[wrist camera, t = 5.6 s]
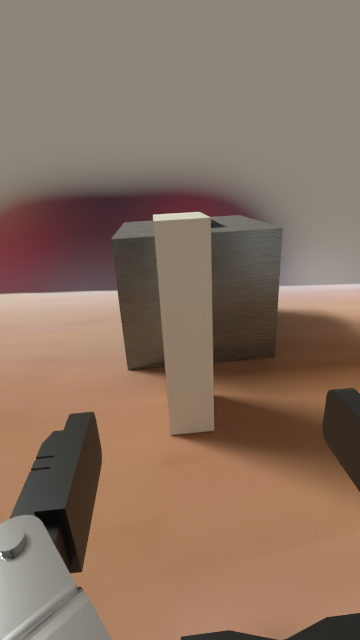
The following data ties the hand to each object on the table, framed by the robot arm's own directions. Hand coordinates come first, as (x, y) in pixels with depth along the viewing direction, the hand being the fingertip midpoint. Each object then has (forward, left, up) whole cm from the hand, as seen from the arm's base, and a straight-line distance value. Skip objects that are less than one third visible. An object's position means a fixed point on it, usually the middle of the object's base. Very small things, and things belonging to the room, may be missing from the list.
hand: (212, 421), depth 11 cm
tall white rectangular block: (+11, 0, -8) cm, 14 cm away
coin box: (+25, -2, -8) cm, 26 cm away
